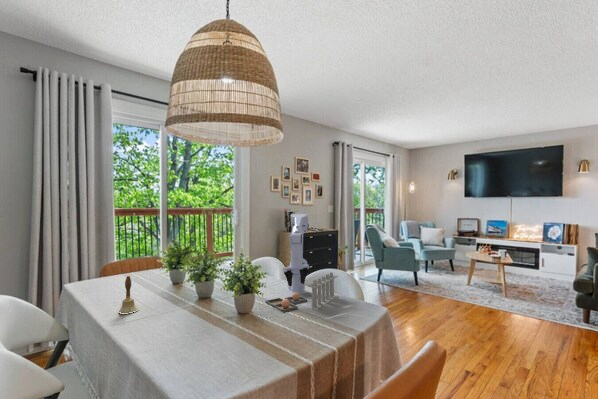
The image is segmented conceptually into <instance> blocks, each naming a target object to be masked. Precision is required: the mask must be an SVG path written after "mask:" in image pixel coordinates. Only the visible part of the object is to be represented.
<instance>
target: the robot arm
mask: <svg viewBox="0 0 598 399" xmlns="http://www.w3.org/2000/svg"><path fill="white" fill-rule="evenodd" d="M308 225H309V214H308V213H291V214H290V227H291V234H289V245H290V246H289V248H290V262H289V265H288V266H285V267H282V272H283V274H284V275H285V278H286V281H287V285H288V289H287V292H289V293H292V294H293V293H295V292H297V293H299V295H301V294H306V293H307V294H308V293H309V291H308V290H306V278H307V275H309V272H310V270H309V269H310V264H308V261H307V259H305V258H304V257H303V256H304V255H303V254H304V233H305V231H307V230H308V227H309V226H308Z"/></svg>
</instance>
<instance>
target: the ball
mask: <svg viewBox="0 0 598 399" xmlns="http://www.w3.org/2000/svg"><path fill="white" fill-rule="evenodd" d="M281 305H282V307H283V308H288V307H289V306H290V302H289V300H287V299H285V298H283V301H282V302H281Z"/></svg>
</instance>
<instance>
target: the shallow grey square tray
mask: <svg viewBox="0 0 598 399" xmlns="http://www.w3.org/2000/svg"><path fill="white" fill-rule="evenodd" d="M284 299H287V300H289V302H290V303H291V304H293V305H297V304H301V303H302V304H303V303H307V302H308V298H305V297H304V296H301V295H300V299H299V300H298V301H294V300H293V299H292V296H289V297H285V298H284Z"/></svg>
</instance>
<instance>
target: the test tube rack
mask: <svg viewBox="0 0 598 399" xmlns="http://www.w3.org/2000/svg"><path fill="white" fill-rule="evenodd" d="M338 277H339V276H338V275H334V272H329V273H326V274H325V275H322V276H321V277H317V279H314V280H313V281H312V283H310V284H308V285H307V288H311V305H310V306H309V307H307V310H313V311H317V310H318V309H320V308H322V307H323V306H324V305H326V304H327V303H329V302H331V301H333V300H334V299H336V298H339V295H336V294H335V279H337V278H338Z"/></svg>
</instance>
